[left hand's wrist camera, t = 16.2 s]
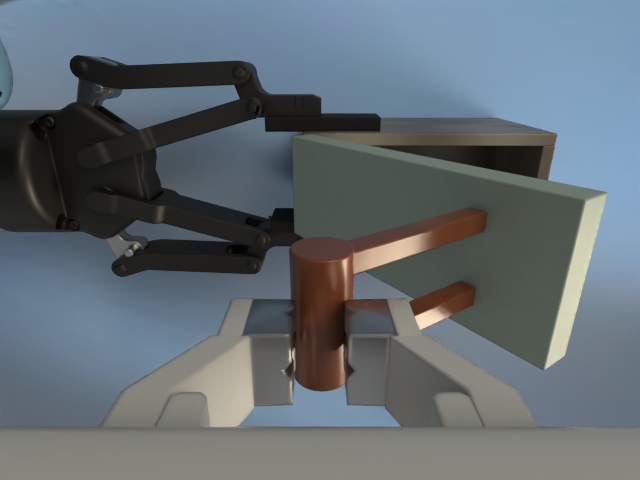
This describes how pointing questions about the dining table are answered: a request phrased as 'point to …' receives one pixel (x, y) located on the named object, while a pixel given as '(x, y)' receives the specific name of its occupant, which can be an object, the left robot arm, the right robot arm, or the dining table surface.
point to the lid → (434, 249)
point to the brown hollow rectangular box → (463, 142)
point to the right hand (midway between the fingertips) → (374, 173)
